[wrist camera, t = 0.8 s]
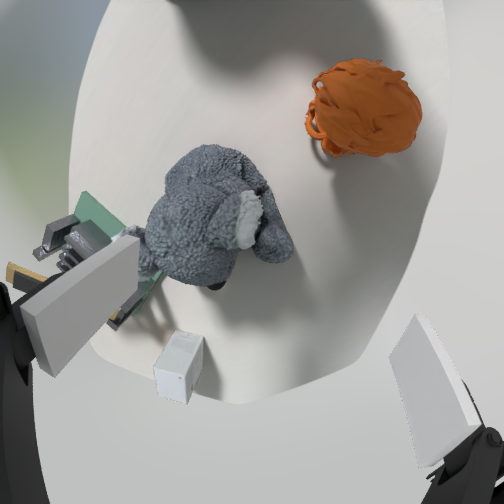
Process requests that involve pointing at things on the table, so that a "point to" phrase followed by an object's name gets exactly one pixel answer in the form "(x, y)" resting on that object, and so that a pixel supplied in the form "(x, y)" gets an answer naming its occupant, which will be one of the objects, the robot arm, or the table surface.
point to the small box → (179, 366)
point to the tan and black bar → (37, 283)
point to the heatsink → (84, 254)
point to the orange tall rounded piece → (363, 110)
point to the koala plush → (210, 220)
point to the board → (102, 223)
